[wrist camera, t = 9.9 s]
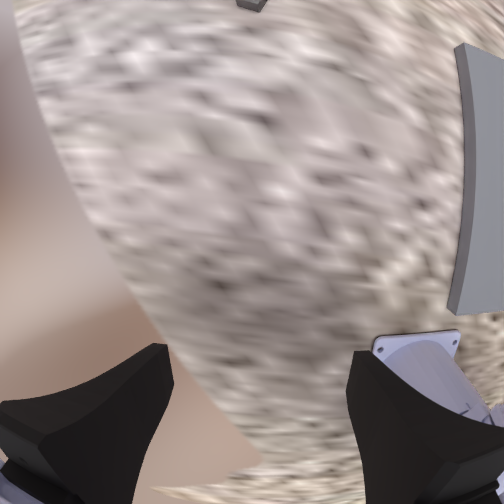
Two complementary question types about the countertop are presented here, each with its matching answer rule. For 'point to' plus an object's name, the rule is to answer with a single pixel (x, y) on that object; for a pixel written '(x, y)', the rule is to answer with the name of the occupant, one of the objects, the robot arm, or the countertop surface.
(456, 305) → the board
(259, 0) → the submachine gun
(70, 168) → the countertop surface
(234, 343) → the countertop surface
